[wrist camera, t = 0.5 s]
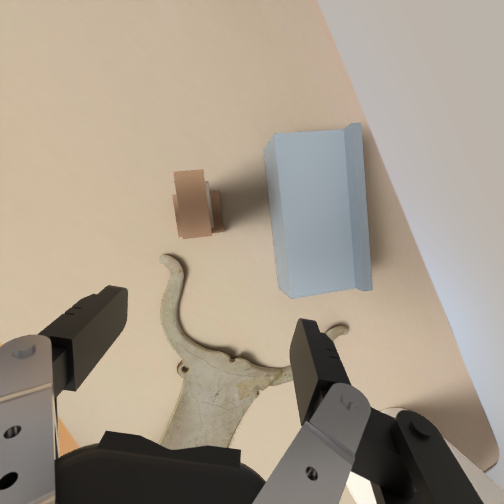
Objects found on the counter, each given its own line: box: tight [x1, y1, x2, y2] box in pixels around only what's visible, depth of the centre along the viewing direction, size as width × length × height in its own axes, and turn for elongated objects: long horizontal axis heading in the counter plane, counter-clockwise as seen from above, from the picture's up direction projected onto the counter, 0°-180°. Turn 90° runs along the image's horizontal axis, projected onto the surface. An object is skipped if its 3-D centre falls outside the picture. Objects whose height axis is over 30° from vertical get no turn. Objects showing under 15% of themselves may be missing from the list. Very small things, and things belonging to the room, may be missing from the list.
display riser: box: [264, 123, 373, 299], centre depth 34 cm, size 20×10×8 cm, turn 7°
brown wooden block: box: [173, 169, 224, 239], centre depth 28 cm, size 6×6×14 cm
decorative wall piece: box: [159, 255, 348, 450], centre depth 37 cm, size 30×3×30 cm
